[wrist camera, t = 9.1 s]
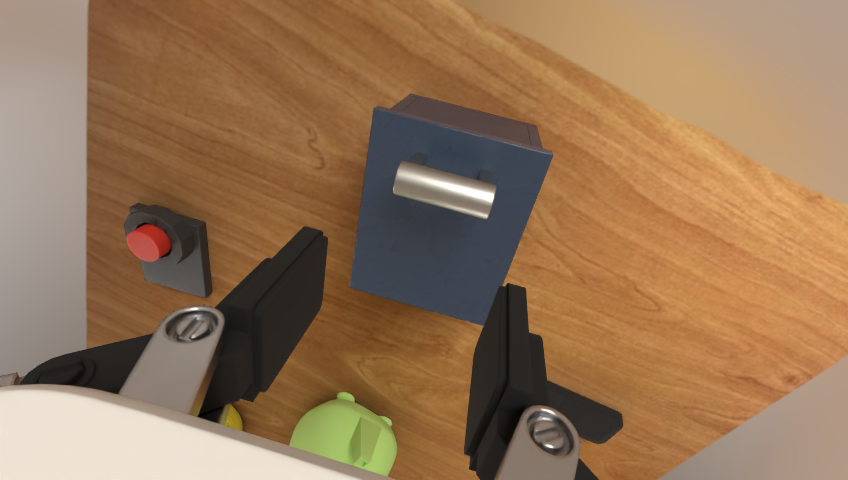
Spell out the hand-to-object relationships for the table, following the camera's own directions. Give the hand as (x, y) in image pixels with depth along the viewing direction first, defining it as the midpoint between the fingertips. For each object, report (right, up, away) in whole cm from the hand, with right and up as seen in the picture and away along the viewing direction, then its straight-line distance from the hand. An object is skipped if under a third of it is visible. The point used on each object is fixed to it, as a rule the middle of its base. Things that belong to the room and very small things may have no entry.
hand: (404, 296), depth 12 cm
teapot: (-9, -23, +42) cm, 49 cm away
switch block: (-28, +1, +33) cm, 43 cm away
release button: (-28, +2, +29) cm, 40 cm away
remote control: (+16, -17, +34) cm, 41 cm away
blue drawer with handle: (+2, +3, +14) cm, 14 cm away
